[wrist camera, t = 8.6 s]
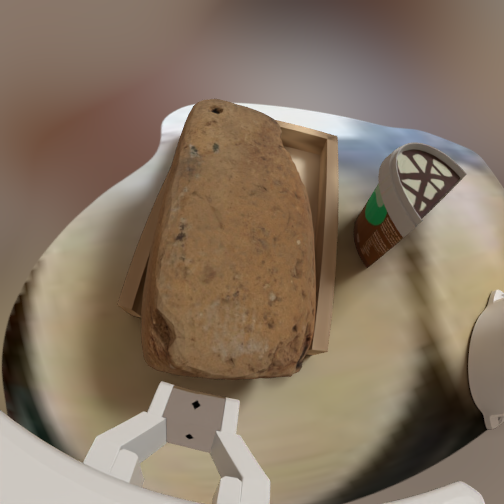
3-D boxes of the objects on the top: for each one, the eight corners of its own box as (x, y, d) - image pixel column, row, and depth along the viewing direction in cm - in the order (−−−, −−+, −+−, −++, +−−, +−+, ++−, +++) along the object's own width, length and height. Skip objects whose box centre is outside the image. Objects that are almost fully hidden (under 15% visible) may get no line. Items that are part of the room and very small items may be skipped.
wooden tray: (327, 156, 31) (337, 136, 28) (312, 355, 22) (327, 351, 18) (202, 129, 31) (202, 107, 28) (130, 314, 21) (117, 304, 18)
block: (134, 372, 11) (194, 84, 18) (136, 364, 17) (175, 143, 25) (332, 378, 15) (314, 125, 22) (274, 374, 21) (276, 170, 29)
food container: (386, 183, 31) (426, 127, 22) (418, 221, 29) (468, 172, 20) (318, 227, 27) (360, 158, 18) (357, 276, 25) (418, 224, 16)
